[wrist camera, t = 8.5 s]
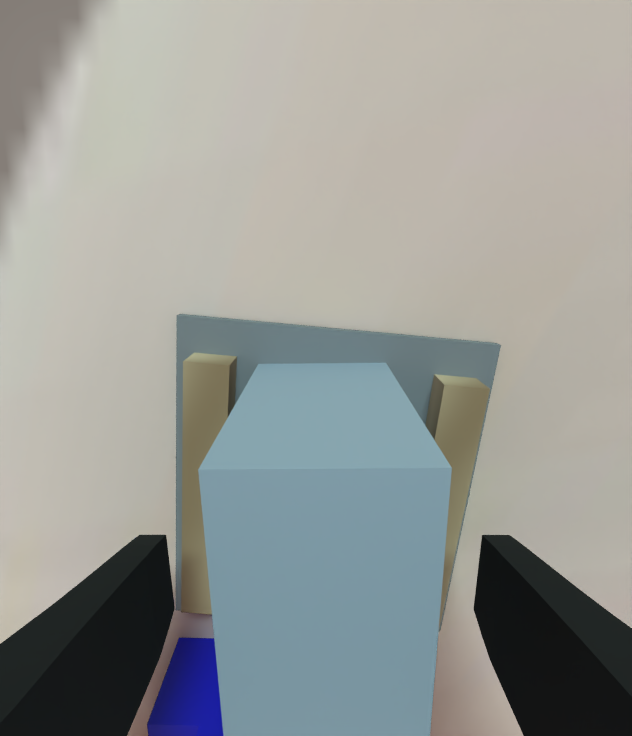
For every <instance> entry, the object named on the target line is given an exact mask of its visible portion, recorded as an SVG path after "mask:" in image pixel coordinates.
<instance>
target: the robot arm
mask: <svg viewBox="0 0 632 736" xmlns="http://www.w3.org/2000/svg"><path fill="white" fill-rule="evenodd" d="M474 611H475V615H476V618H477V621H478V624H479V628H480V631H481V634H482V637H483V640H484V643H485V646H486V649H487V652H488V655H489V658H490V660H491V663H492V665H493V667H494V670H495V672H496V674H497V677H498V679H499V681H500V683H501V686H502V688H503V690H504V692H505V695H506V697H507V699H508V702H509V704H510V706H511V708H512V710H513V713H514V715H515V717H516V719H517V722H518V724H519V726H520V728H521V730H522V733H523V735H524V736H632V628H630V627H629V626H627V625H626V624H625V623H623V622H622V621H621V620H619V619H618V618H617V617H615V616H614V615H613V614H611V613H610V612H608V611H607V610H606V609H604V608H603V607H602V606H600V605H599V604H598V603H596V602H595V601H594V600H592V599H591V598H590V597H589V596H587V595H586V594H585V593H583V592H582V591H581V590H579V589H578V588H577V587H576V586H574V585H573V584H572V583H570V582H569V581H568V580H567V579H565V578H564V577H563V576H562V575H560V574H559V573H558V572H556V571H555V570H554V569H553V568H551V567H550V566H549V565H548V564H546V563H545V562H544V561H543V560H541V559H540V558H539V557H537V556H536V555H535V554H534V553H532V552H531V551H530V550H529V549H527V548H526V547H525V546H523V545H522V544H521V543H519V542H518V541H517V540H515V539H514V538H513V537H511V536H510V535H482V542H481V550H480V559H479V568H478V576H477V585H476V594H475V602H474ZM173 612H174V599H173V591H172V582H171V573H170V565H169V556H168V548H167V539H166V535H139V536H138V537H136V538H135V539H134V540H132V541H131V542H130V543H128V544H127V545H126V546H125V547H123V548H122V549H121V550H120V551H119V552H117V553H116V554H115V555H114V556H112V557H111V558H110V559H109V560H108V561H106V562H105V563H104V564H103V565H101V566H100V567H99V568H98V569H97V570H95V571H94V572H93V573H92V574H90V575H89V576H88V577H87V578H86V579H84V580H83V581H82V582H81V583H79V584H78V585H77V586H76V587H74V588H73V589H72V590H71V591H69V592H68V593H67V594H66V595H64V596H63V597H62V598H61V599H59V600H58V601H57V602H56V603H54V604H53V605H52V606H50V607H49V608H48V609H46V610H45V611H44V612H42V613H41V614H40V615H38V616H37V617H36V618H34V619H33V620H32V621H30V622H29V623H28V624H26V625H25V626H24V627H22V628H21V629H20V630H18V631H17V632H16V633H14V634H13V635H12V636H10V637H9V638H8V639H6V640H5V641H4V642H2V643H1V644H0V736H127V734H128V732H129V729H130V727H131V725H132V722H133V720H134V718H135V715H136V713H137V711H138V708H139V706H140V704H141V701H142V699H143V697H144V694H145V692H146V689H147V687H148V685H149V682H150V680H151V677H152V675H153V673H154V670H155V668H156V665H157V663H158V660H159V658H160V655H161V652H162V649H163V645H164V642H165V639H166V636H167V633H168V629H169V626H170V622H171V619H172V615H173Z"/></svg>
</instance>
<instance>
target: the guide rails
mask: <svg viewBox="0 0 632 736" xmlns="http://www.w3.org/2000/svg"><path fill="white" fill-rule="evenodd" d="M236 369H237V356H227V355H216V354H205V353H193V354H192V355H191V356H189V357H188V358H187V359H185V360H184V361H183V433H182V568H181V612H188V613H200V614H212V609H211V599H210V588H209V578H208V567H207V556H206V546H205V535H204V525H203V514H202V504H201V493H200V483H199V472H198V469H199V467H200V466H201V464H202V462H203V460H204V459H205V457H206V455H207V453H208V452H209V450H210V448H211V446H212V444H213V443H214V441H215V439H216V437H217V436H218V434H219V432H220V430H221V429H222V427H223V425H224V423H225V422H226V420H227V418H228V416H229V415H230V413H231V411H232V409H233V408H234V406H235V392H236ZM489 392H490V388H488V387H487V386H486V385H484V384H483V383H482V382H481V381H479V380H478V379H477V378H470V377H459V376H448V375H437V374H434V378H433V384H432V390H431V396H430V402H429V407H428V413H427V419H426V425H425V426H426V427H427V429H428V431H429V432H430V434H431V435H432V437H433V439H434V440H435V442H436V443H437V445H438V447H439V448H440V450H441V451H442V453H443V455H444V456H445V458H446V459H447V461H448V463H449V464H450V466H451V467H452V472H451V484H450V497H449V509H448V521H447V533H446V545H445V557H444V570H443V582H442V594H441V606H440V618H439V628H440V623H441V619H442V614H443V609H444V604H445V600H446V595H447V590H448V586H449V581H450V576H451V571H452V567H453V562H454V557H455V553H456V548H457V543H458V538H459V534H460V529H461V524H462V519H463V515H464V510H465V505H466V501H467V496H468V491H469V486H470V482H471V477H472V472H473V467H474V463H475V458H476V453H477V449H478V444H479V439H480V434H481V430H482V425H483V420H484V415H485V411H486V406H487V401H488V397H489ZM438 633H439V630H438Z"/></svg>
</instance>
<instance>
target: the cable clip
mask: <svg viewBox="0 0 632 736" xmlns="http://www.w3.org/2000/svg"><path fill="white" fill-rule="evenodd" d="M147 727H148V736H224V735H223V725H222V714H221V704H220V693H219V683H218V672H217V662H216V651H215V641H214V639H213V638H179V639H178V642H177V645H176V648H175V650H174V653H173V656H172V658H171V661H170V664H169V667H168V669H167V672H166V675H165V677H164V680H163V683H162V686H161V688H160V691H159V694H158V696H157V699H156V702H155V705H154V707H153V710H152V713H151V715H150V718H149V721H148V724H147Z"/></svg>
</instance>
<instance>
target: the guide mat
mask: <svg viewBox="0 0 632 736" xmlns="http://www.w3.org/2000/svg"><path fill="white" fill-rule="evenodd" d="M500 347H501V345H499V344H497V343H489V342H479V341H468V340H457V339H446V338H435V337H424V336H413V335H402V334H391V333H381V332H370V331H359V330H348V329H337V328H326V327H315V326H304V325H294V324H283V323H272V322H261V321H250V320H239V319H228V318H217V317H207V316H196V315H185V314H179V315H177V376H176V610H181V568H182V433H183V361H184V360H185V359H187V358H188V357H189V356H191V355H192V354H193V353H205V354H216V355H227V356H237V369H236V392H235V404H236V402H237V401H238V399H239V397H240V395H241V394H242V392H243V390H244V388H245V387H246V385H247V383H248V381H249V380H250V378H251V376H252V374H253V373H254V371H255V369H256V367H257V366H258V364H301V363H386V364H387V365H388V367H389V368H390V370H391V372H392V373H393V375H394V376H395V378H396V380H397V381H398V383H399V384H400V386H401V388H402V389H403V391H404V392H405V394H406V396H407V397H408V399H409V400H410V402H411V404H412V405H413V407H414V408H415V410H416V412H417V413H418V415H419V416H420V418H421V419H422V421H423V423H424V424H425V425H426V419H427V413H428V407H429V402H430V396H431V390H432V384H433V378H434V374H437V375H448V376H459V377H470V378H477V379H478V380H479V381H481V382H482V383H483V384H484V385H486V386H487V387H488V388H490V392H489V397H488V401H487V406H486V411H485V415H484V420H483V425H482V430H481V434H480V439H479V444H478V449H477V453H476V458H475V463H474V467H473V472H472V477H471V482H470V486H469V491H468V496H467V501H466V505H465V510H464V515H463V519H462V524H461V529H460V534H459V538H458V543H457V548H456V553H455V557H454V562H453V567H452V571H451V576H450V581H449V586H448V590H447V595H446V600H445V604H444V609H443V614H442V619H443V615H444V610H445V605H446V601H447V596H448V591H449V587H450V582H451V577H452V572H453V568H454V563H455V558H456V554H457V549H458V544H459V539H460V535H461V530H462V525H463V521H464V516H465V511H466V507H467V502H468V497H469V492H470V488H471V483H472V478H473V474H474V469H475V464H476V459H477V455H478V450H479V445H480V441H481V436H482V431H483V427H484V422H485V417H486V412H487V408H488V403H489V398H490V394H491V389H492V384H493V380H494V375H495V370H496V365H497V361H498V356H499V351H500ZM442 619H441V623H440V628H439V631H440V629H441V624H442Z"/></svg>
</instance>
